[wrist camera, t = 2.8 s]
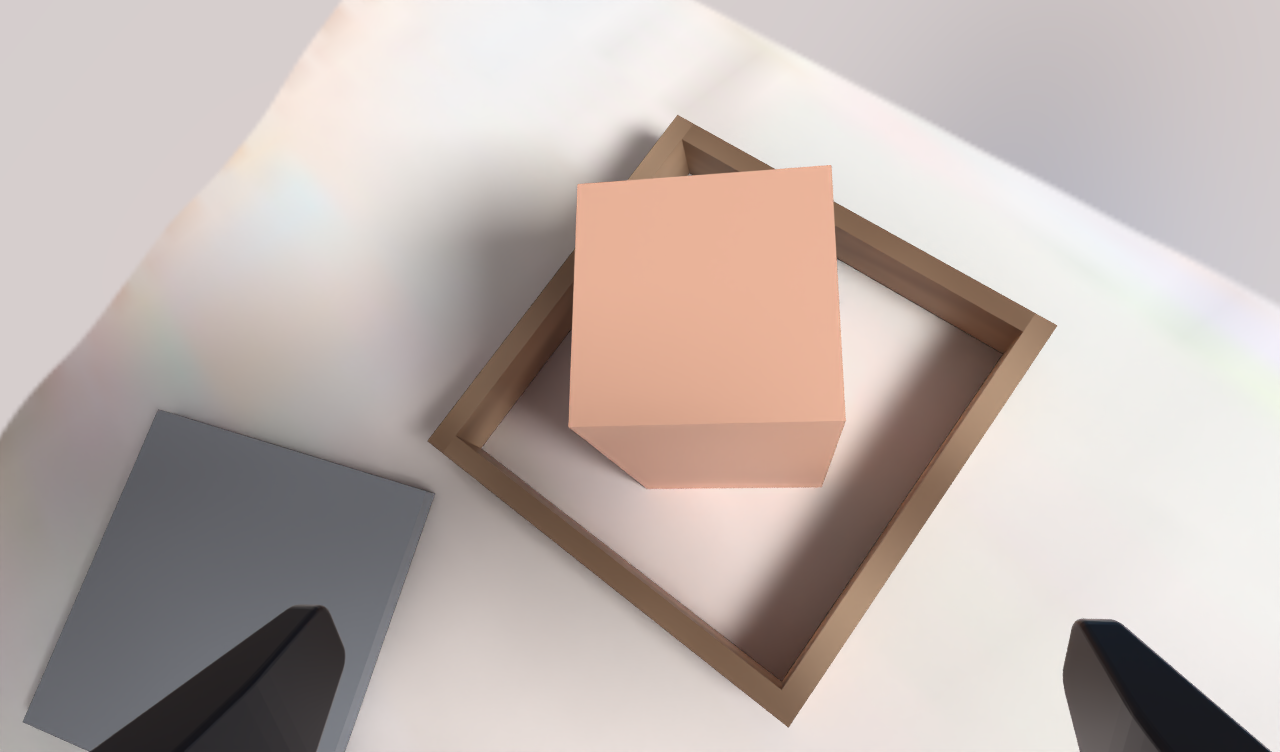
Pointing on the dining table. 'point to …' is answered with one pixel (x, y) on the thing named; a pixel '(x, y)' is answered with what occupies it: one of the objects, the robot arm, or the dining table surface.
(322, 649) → the robot arm
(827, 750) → the dining table surface
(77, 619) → the slate pad
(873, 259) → the walnut well
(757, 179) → the terracotta block
